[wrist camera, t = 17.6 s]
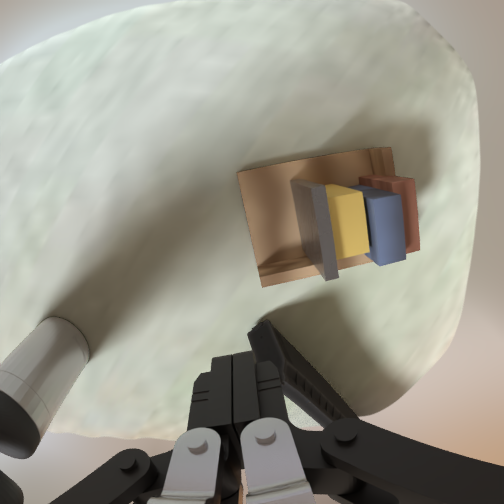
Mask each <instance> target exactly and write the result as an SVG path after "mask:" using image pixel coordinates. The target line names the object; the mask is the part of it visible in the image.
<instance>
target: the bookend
mask: <svg viewBox="0 0 504 504" xmlns="http://www.w3.org/2000/svg"><path fill="white" fill-rule="evenodd" d="M290 185H291V190H292V195H293V200H294V205H295V211H296V216H297V221H298V227H299V232H300V238H301V244H302V249H303V251H304V252H305V254H306V255H307V256H308V258H309V259H310V260H311V262H312V263H313V265H314V266H315V267H316V269H317V270H318V271H319V273H320V274H321V275H322V277H323V278H324V279H325V281H328V280H332V279H337V278H339V275H338V267H337V259H336V252H335V244H334V237H333V231H332V224H331V218H330V211H329V205H328V199H327V193H326V188H325V185H322V184H318V183H315V182H311V181H307V180H304V179H295V180H290Z"/></svg>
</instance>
